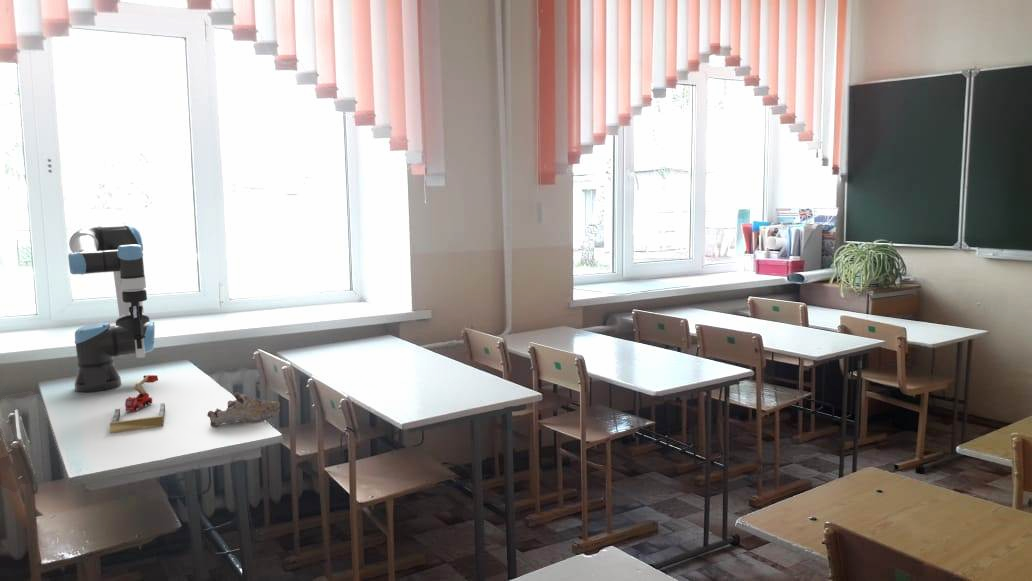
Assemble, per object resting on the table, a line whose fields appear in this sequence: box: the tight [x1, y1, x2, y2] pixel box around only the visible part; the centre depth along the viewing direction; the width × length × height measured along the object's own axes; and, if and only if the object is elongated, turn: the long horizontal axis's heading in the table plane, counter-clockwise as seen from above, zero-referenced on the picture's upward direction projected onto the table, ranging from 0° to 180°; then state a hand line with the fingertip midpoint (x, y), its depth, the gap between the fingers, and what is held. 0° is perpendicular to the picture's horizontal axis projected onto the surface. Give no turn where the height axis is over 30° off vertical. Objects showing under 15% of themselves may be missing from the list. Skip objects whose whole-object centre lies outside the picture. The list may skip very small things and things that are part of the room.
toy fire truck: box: [124, 374, 159, 413], centre depth 259 cm, size 3×14×10 cm, turn 168°
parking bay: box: [109, 402, 166, 434], centre depth 243 cm, size 18×14×3 cm
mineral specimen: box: [206, 391, 281, 428], centre depth 240 cm, size 20×10×10 cm
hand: (140, 357), depth 268 cm, fingers closed
